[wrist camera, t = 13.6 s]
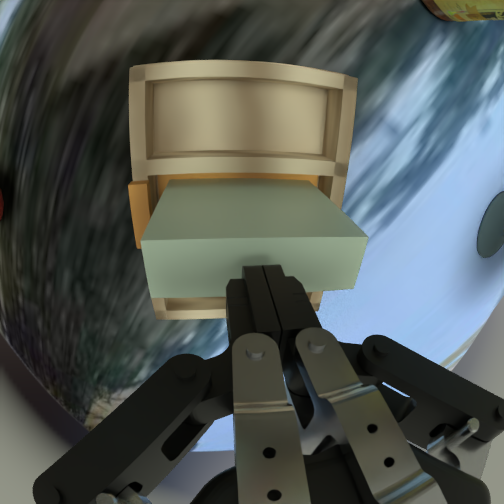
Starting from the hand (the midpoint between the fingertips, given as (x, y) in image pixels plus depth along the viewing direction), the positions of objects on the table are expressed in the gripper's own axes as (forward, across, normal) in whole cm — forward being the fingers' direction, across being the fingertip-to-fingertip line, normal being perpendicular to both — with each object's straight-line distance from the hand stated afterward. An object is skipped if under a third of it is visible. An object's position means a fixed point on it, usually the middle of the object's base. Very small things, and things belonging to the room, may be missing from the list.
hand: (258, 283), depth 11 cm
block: (+10, 0, 0) cm, 10 cm away
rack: (+11, 0, 0) cm, 11 cm away
